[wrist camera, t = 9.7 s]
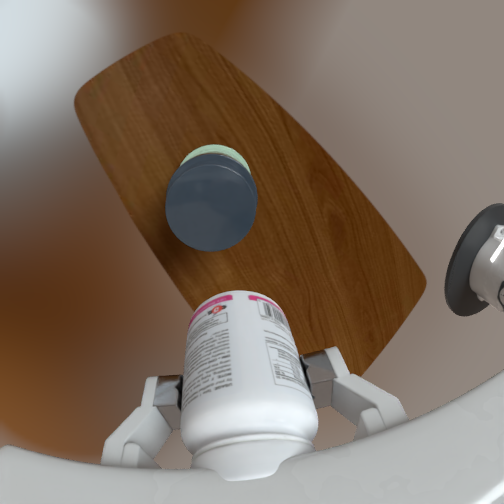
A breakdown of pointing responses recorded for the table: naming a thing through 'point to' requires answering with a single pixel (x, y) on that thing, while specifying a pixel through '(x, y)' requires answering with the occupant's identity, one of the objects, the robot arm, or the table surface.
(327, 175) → the table surface
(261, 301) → the pill bottle
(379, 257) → the table surface
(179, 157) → the table surface
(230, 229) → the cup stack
